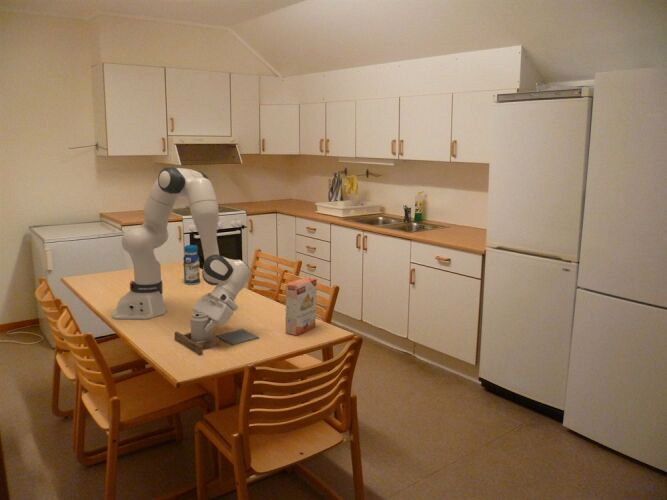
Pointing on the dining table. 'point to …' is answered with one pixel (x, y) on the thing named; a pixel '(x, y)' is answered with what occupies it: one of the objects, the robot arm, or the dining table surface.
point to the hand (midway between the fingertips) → (199, 327)
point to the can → (199, 327)
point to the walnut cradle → (195, 346)
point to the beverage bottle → (191, 265)
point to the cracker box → (300, 305)
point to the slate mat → (237, 336)
